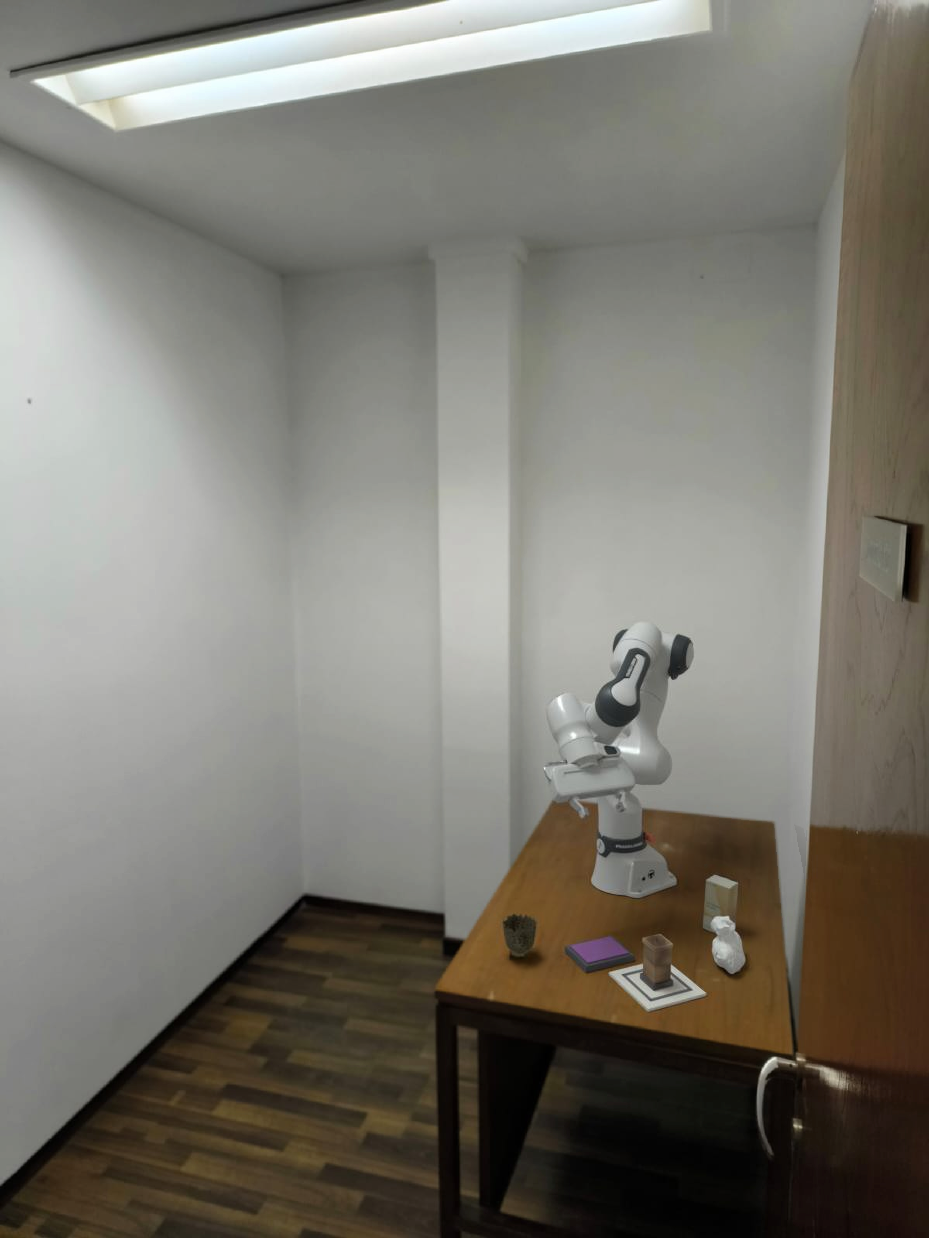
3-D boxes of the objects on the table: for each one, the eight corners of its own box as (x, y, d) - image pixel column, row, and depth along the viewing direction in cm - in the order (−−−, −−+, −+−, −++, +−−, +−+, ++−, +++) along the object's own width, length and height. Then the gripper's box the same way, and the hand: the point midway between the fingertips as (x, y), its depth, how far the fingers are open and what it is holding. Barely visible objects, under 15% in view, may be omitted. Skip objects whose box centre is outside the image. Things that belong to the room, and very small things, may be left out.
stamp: (659, 973, 170) (660, 933, 169) (673, 985, 166) (674, 944, 164) (639, 978, 168) (640, 937, 167) (653, 990, 164) (654, 948, 163)
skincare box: (702, 928, 190) (704, 879, 188) (711, 922, 193) (713, 873, 191) (727, 938, 185) (729, 888, 184) (736, 932, 188) (739, 882, 187)
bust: (731, 959, 181) (701, 914, 183) (760, 946, 177) (729, 901, 179) (720, 987, 170) (689, 939, 172) (751, 973, 167) (719, 924, 169)
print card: (663, 960, 176) (664, 957, 176) (706, 995, 163) (706, 992, 163) (608, 974, 171) (608, 971, 171) (648, 1011, 158) (648, 1008, 158)
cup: (515, 943, 183) (515, 909, 182) (542, 954, 179) (543, 919, 178) (495, 956, 178) (495, 922, 177) (523, 968, 173) (523, 933, 172)
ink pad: (611, 941, 184) (611, 934, 184) (633, 960, 176) (634, 953, 176) (564, 951, 180) (565, 944, 179) (586, 972, 171) (586, 965, 171)
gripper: (546, 756, 178) (567, 813, 171) (625, 746, 186) (649, 801, 178) (536, 770, 183) (557, 826, 175) (613, 760, 191) (636, 813, 183)
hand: (604, 813), depth 177 cm, fingers open, 8 cm apart
